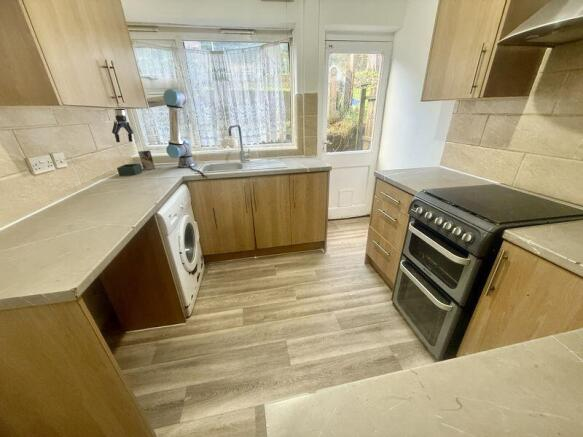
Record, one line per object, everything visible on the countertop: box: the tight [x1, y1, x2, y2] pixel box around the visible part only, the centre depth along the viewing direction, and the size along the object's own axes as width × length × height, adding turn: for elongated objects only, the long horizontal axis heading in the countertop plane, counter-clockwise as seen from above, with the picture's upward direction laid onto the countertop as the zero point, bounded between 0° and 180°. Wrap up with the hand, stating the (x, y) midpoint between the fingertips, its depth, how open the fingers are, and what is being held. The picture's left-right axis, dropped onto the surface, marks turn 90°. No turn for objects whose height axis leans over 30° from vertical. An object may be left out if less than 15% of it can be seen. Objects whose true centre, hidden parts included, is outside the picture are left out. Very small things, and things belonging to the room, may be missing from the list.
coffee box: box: [137, 150, 156, 171], centre depth 222 cm, size 9×6×16 cm
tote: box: [116, 163, 143, 177], centre depth 209 cm, size 15×13×7 cm
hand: (124, 142), depth 212 cm, fingers open, 13 cm apart
